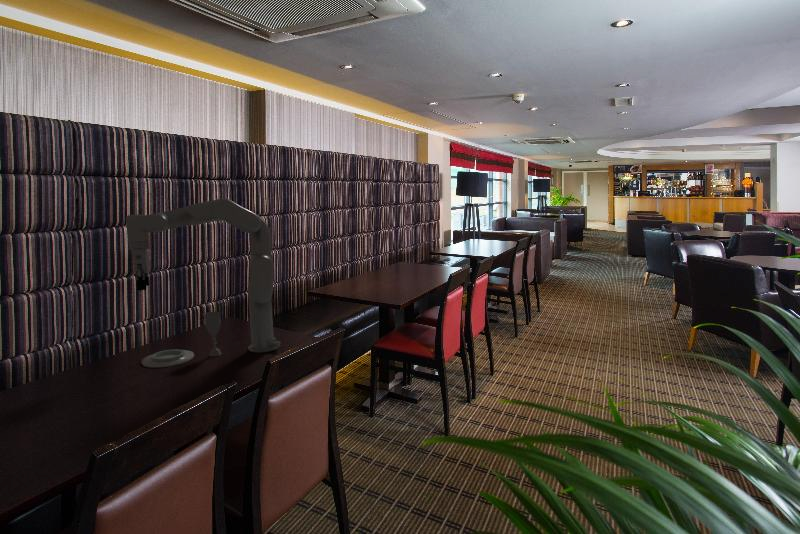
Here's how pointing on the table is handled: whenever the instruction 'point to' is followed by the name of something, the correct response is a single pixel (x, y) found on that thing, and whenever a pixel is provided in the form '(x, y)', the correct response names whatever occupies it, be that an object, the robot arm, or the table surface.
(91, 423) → the table surface
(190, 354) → the plate
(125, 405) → the table surface
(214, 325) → the chalice
